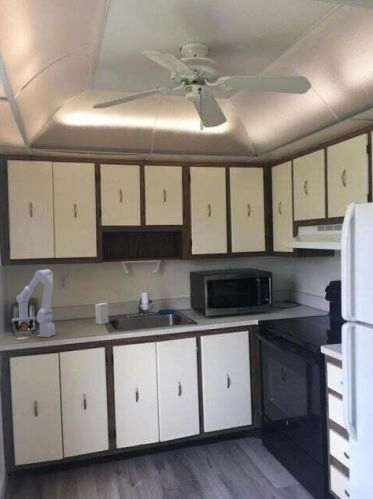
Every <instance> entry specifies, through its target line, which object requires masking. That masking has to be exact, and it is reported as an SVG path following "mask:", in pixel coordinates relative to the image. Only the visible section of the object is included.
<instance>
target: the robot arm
mask: <svg viewBox="0 0 373 499" xmlns="http://www.w3.org/2000/svg"><path fill="white" fill-rule="evenodd" d="M33 275H34V276H33V278H32V279H31V281H30V283H29V285H26V286H24V289H23V290H22V291H21V292H20V294H17V296H16V299H15V300H16V302H17V303H18V317H16V318H12V319H11V322H12V323H13V324H14V326H15V328H16V332H20V327H19V322H29V323H28V325H29V331H31V332H32V326H33V322H34V321H37V323H38V326H39V334H38V335H36V337H43V338H44V337H45V338H50V337H52V336H55V335H56V334H57V333H56V325H55V323H54V322H52V320H53V317H54V314H53V309H51V303H52V296H53V289H54V279H53V275H54V273H53V272H52V270H51V269H50V268H46V269H41V270H40V269H39V270H37V271H35V273H34V274H33ZM39 282H40V283H42V284H43V293H42V301H41V306H40V309H39V310H38V312H37V314H36V317H35V316H29V310H28V309H29V308H28V307H29V306H28V305H29V300H30V297H31V296H32V294H33V293H34V288H35V287H36V286H37V284H38V283H39Z"/></svg>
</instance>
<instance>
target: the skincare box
mask: <svg viewBox="0 0 373 499" xmlns="http://www.w3.org/2000/svg"><path fill="white" fill-rule="evenodd" d="M94 306H95V309H94V311H95V324H96V325H104V324H108V323H109V303H107V302H100V303H96V304H94Z"/></svg>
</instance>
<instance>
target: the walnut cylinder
mask: <svg viewBox="0 0 373 499" xmlns="http://www.w3.org/2000/svg"><path fill="white" fill-rule="evenodd" d="M20 331H29V323H28V324H27V323H22V324H20V325H19V332H20Z"/></svg>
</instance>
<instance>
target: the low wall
mask: <svg viewBox="0 0 373 499" xmlns="http://www.w3.org/2000/svg"><path fill="white" fill-rule="evenodd" d="M14 333H15V338H17V337H21V336H29V337H30V336H32V330H31V331H30V330H28V331H20V330H19V332H17V331H15V332H14Z"/></svg>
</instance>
